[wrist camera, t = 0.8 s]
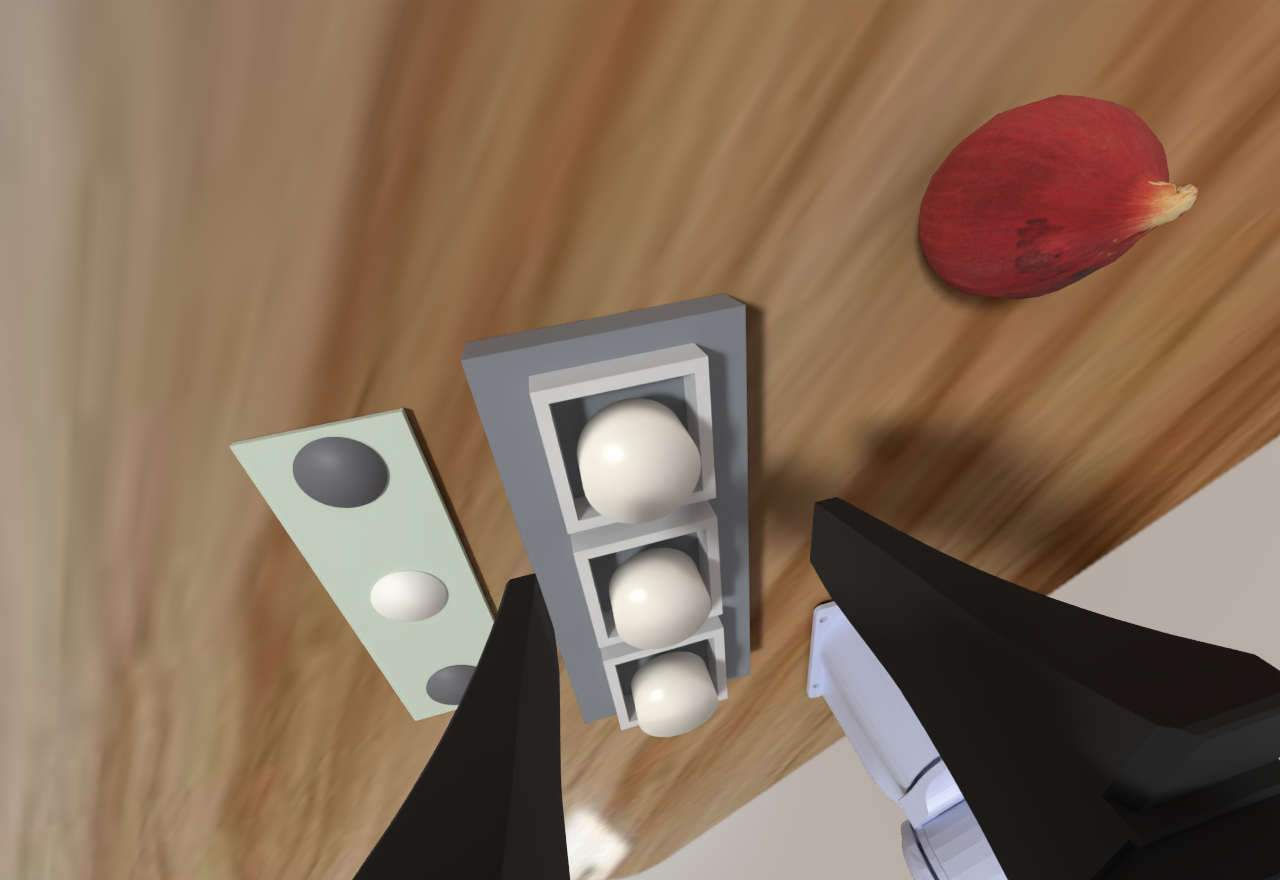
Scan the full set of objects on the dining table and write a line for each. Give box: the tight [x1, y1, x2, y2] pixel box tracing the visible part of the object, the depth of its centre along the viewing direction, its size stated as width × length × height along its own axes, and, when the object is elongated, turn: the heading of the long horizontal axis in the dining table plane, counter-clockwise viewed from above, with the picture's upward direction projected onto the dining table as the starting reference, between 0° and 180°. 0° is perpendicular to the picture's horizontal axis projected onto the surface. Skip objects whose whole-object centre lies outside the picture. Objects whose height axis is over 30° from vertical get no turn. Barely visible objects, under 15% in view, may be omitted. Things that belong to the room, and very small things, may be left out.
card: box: [229, 408, 495, 721], centre depth 22 cm, size 18×6×1 cm, turn 7°
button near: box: [577, 398, 701, 524], centre depth 16 cm, size 4×4×2 cm
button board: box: [461, 294, 750, 730], centre depth 22 cm, size 22×10×4 cm, turn 7°
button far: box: [631, 651, 718, 737], centre depth 23 cm, size 4×4×2 cm
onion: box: [918, 95, 1198, 299], centre depth 15 cm, size 6×6×8 cm
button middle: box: [609, 548, 711, 649], centre depth 20 cm, size 4×4×2 cm
